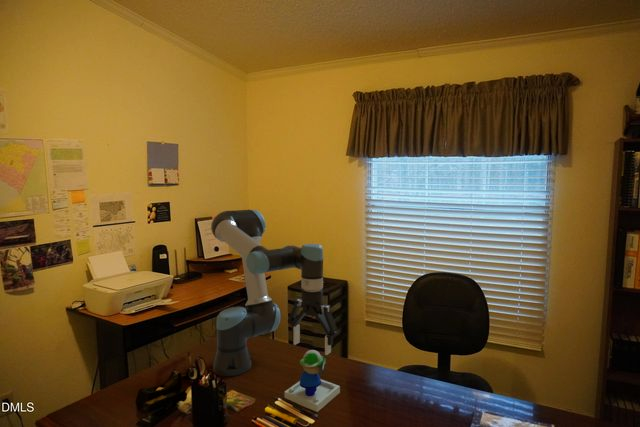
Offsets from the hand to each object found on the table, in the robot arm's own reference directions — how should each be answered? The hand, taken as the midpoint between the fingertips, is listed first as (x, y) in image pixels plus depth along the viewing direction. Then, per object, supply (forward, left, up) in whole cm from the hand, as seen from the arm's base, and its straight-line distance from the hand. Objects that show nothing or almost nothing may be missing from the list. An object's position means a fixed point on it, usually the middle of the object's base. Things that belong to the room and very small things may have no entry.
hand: (311, 348), depth 127 cm
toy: (0, 0, -16) cm, 16 cm away
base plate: (0, 0, -17) cm, 17 cm away
